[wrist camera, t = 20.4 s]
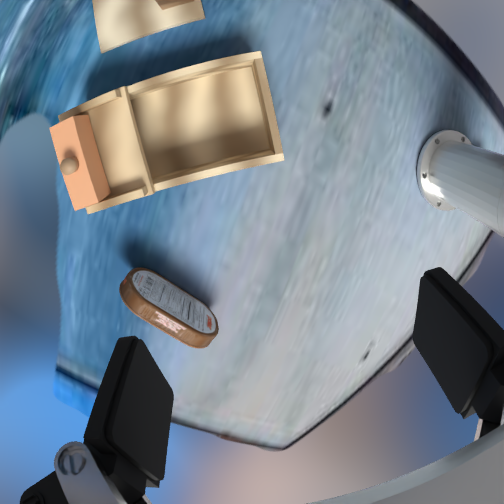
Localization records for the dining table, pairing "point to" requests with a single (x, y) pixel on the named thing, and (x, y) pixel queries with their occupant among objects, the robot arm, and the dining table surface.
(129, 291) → the tin
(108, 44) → the lid
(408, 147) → the dining table surface
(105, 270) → the dining table surface
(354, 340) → the dining table surface
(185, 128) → the toolbox
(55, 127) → the peach boxy piece
